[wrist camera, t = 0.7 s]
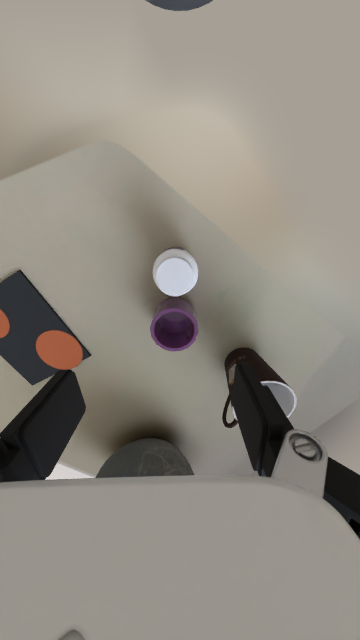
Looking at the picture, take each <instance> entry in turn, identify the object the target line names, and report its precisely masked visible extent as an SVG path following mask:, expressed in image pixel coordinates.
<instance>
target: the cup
mask: <svg viewBox="0 0 360 640" xmlns="http://www.w3.org/2000/svg"><path fill="white" fill-rule="evenodd" d="M150 331H151V336H152V338H153V340H154V341H155V343H156V344H157V345H159V346H160V347H161V348H163V349H165V350H169V351H181V350H183V349H185V348H188V347H189V346H190V345H191V344H192V343H193V342H194V341H195V340H196V337H197V334H198V324H197V320H196V315H195V311H194V309H193V307H192V305H191V304H190V303H189V302H188V301H186V300H184V299H182V298H178V297H172V298H168V299H165V300H164V301H162V302H161V303H160V304H159V305H158V307H157V309H156V311H155V314H154V317H153V320H152V323H151V327H150Z"/></svg>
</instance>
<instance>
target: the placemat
mask: <svg viewBox="0 0 360 640" xmlns="http://www.w3.org/2000/svg"><path fill="white" fill-rule="evenodd" d="M0 355H1V356H2V357H3V358H4V359H5V360H6V361H7V362H8V363H9V364H10V365H11V366H12V367H13V368H14V369H16V370H17V371H18V372H19V373H20V374H21V375H22V376H23V377H24V378H25V379H26V380H27V381H28V382H29V383H30V384H31V385H34V384H36V383H38V382H40V381H42V380H44V379H46V378H48V377H50V376H52V375H54V374H56V373H57V372H58V371H59V370H66V369H72V368H74V367H76V366H77V365H79V363H80V362H81V361H82V360H84V359H86V358H88V357H90V356H91V354H90V353H89V352H88V351H87V350H86V348H85V347H84V346H83V345H82V344H81V342H80V341H79V340H78V339H77V338H76V336H75V335H74V334H73V333H72V332H71V330H70V329H69V328H68V327H67V326H66V324H65V323H64V322H63V321H62V320H61V318H60V317H59V316H58V315H57V314H56V312H55V311H54V310H53V309H52V308H51V306H50V305H49V304H48V303H47V302H46V300H45V299H44V298H43V297H42V296H41V294H40V293H39V292H38V291H37V290H36V288H35V287H34V286H33V285H32V284H31V282H30V281H29V280H28V279H27V278H26V276H25V275H24V274H23V273H22V272H21V270H20V271H17V272H16V273H14V274H13V275H11V276H10V277H8V278H7V279H5V280H4V281H2V282H1V283H0Z"/></svg>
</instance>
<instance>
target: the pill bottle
mask: <svg viewBox="0 0 360 640" xmlns="http://www.w3.org/2000/svg"><path fill="white" fill-rule="evenodd" d="M153 278H154V281H155V283H156V285H157V287H158V288H159V289H160V290H161V291H162V292H164V293H165V294H167V295H170V296H180V295H183V294H185V293H187V292H189V291H190V290H191V289H192V288H193V287H194V286H195V284H196V282H197V279H198V266H197V263H196V261H195V259H194V258H193V256H192V255H191V254H190V253H189V252H188V251H186V250H185V249H183V248H180V247H172V248H169V249H167V250H165V251H164V252H163V253H161V254H160V255H159V256H158V257H157V259H156V261H155V263H154V266H153Z"/></svg>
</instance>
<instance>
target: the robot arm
mask: <svg viewBox="0 0 360 640" xmlns="http://www.w3.org/2000/svg"><path fill="white" fill-rule="evenodd" d="M232 403H233V408H234V411H235V414H236V417H237V421H238V424H239V427H240V430H241V433H242V436H243V439H244V442H245V445H246V449H247V452H248V455H249V458H250V461H251V464H252V467H253V469H254V471H258V474H259V476H253V475H188V476H148V477H115V478H84V479H57V480H45V479H46V477H48V476H49V475H50V474H51V472H52V471H53V469H54V467H55V465H56V464H57V462H58V460H59V458H60V456H61V454H62V453H63V451H64V449H65V447H66V445H67V444H68V442H69V440H70V438H71V436H72V434H73V433H74V431H75V429H76V427H77V425H78V424H79V422H80V420H81V418H82V416H83V414H84V413H85V409H86V406H85V403H84V399H83V396H82V393H81V390H80V387H79V384H78V381H77V378H76V375H75V373H74V372H72V370H70V369H68V370H59V371H58V372H57V373H56V374H55V375H54V376H53V377H52V378H51V379H50V380H49V381H48V382H47V383H46V385H45V386H44V387H43V388H42V389H41V390H40V391H39V392H38V393H37V394H36V395H35V396H34V397H33V399H32V400H31V401H30V402H29V403H28V404H27V405H26V406H25V407H24V408H23V409H22V410H21V411H20V413H19V414H18V415H17V416H16V417H15V418H14V419H13V420H12V421H11V422H10V423H9V424H8V425H7V427H6V428H5V429H4V430H3V431H2V432H1V433H0V437H1V438H0V640H360V475H358V474H357V473H355V472H354V471H352V470H350V469H348V468H347V467H345V466H343V465H342V464H340V463H338V462H336V461H335V460H333V459H331V458H330V457H328V454H327V451H326V449H325V447H324V445H323V444H322V443H321V442H320V441H319V440H318V439H317V438H316V437H315V436H313V435H311V434H310V433H308V432H306V431H303V430H298V429H295V430H294V428H293V426H292V425H291V423H290V421H289V420H288V418H287V416H286V415H285V413H284V411H283V410H282V408H281V406H280V405H279V403H278V402H277V400H276V398H275V397H274V395H273V393H272V392H271V390H270V388H269V387H268V386H267V385H262V384H261V382H260V380H259V378H258V377H257V375H256V373H255V371H254V370H253V368H252V366H251V364H250V363H249V362H241V363H238V365H235V373H234V385H233V398H232Z"/></svg>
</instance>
